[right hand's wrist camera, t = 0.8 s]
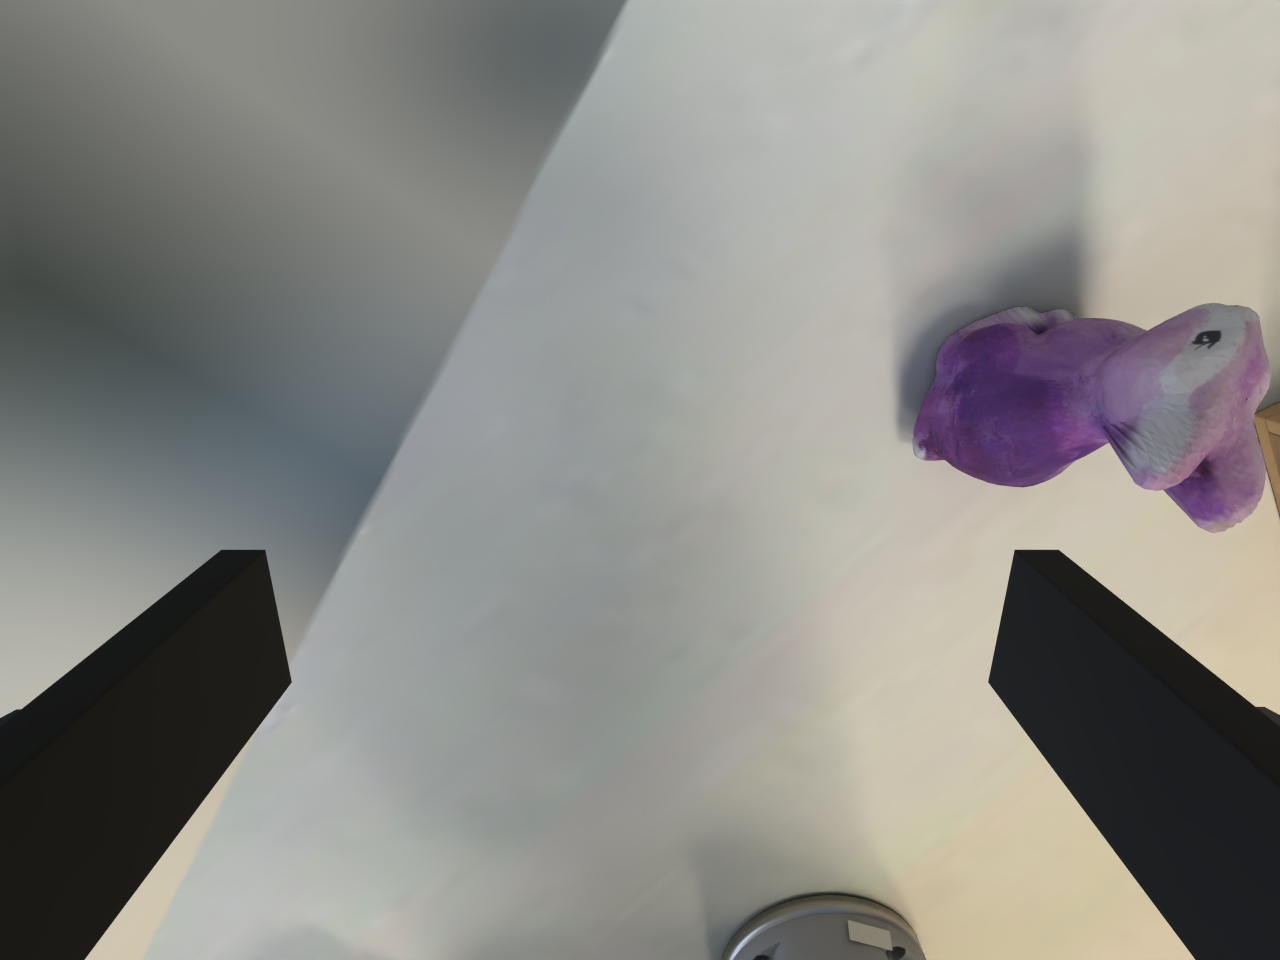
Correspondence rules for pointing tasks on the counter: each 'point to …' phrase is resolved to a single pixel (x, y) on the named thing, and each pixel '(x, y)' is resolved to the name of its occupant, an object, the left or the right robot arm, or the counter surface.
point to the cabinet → (1270, 444)
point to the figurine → (1106, 403)
